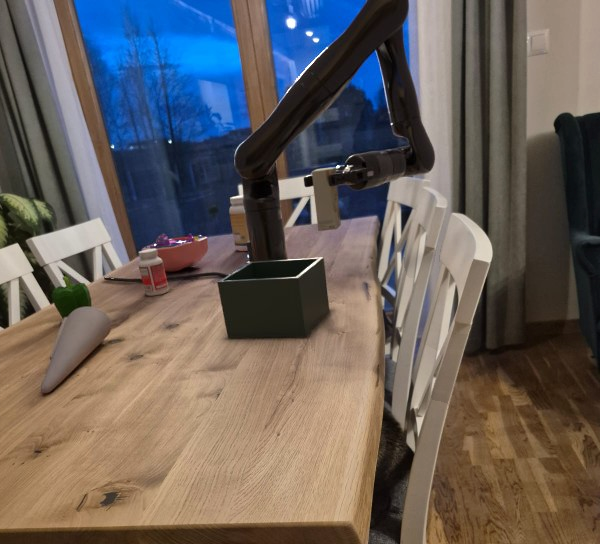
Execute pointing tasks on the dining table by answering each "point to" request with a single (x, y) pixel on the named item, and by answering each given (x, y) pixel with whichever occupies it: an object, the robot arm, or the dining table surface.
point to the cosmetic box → (326, 200)
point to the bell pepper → (71, 297)
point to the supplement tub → (238, 223)
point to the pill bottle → (152, 273)
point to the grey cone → (75, 343)
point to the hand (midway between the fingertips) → (317, 181)
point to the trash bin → (274, 298)
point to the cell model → (180, 251)
